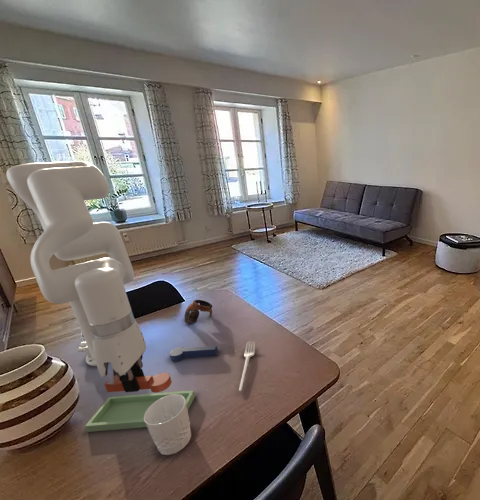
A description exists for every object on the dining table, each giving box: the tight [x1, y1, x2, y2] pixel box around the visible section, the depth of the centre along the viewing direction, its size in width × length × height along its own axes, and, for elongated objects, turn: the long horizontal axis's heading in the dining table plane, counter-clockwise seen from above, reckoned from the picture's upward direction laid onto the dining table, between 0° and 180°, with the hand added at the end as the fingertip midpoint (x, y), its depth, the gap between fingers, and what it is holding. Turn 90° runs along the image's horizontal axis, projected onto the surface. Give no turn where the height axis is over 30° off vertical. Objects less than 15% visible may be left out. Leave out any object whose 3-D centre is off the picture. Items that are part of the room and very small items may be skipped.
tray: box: [84, 390, 196, 433], centre depth 74 cm, size 22×9×2 cm, turn 95°
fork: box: [238, 340, 256, 393], centre depth 89 cm, size 3×20×2 cm, turn 9°
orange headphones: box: [183, 299, 213, 325], centre depth 113 cm, size 12×10×8 cm
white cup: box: [144, 394, 192, 456], centre depth 66 cm, size 8×8×10 cm
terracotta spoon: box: [104, 372, 173, 393], centre depth 71 cm, size 14×4×2 cm, turn 95°
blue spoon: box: [169, 345, 219, 362], centre depth 94 cm, size 14×4×2 cm, turn 95°
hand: (135, 386), depth 72 cm, fingers closed on terracotta spoon, 1 cm apart
